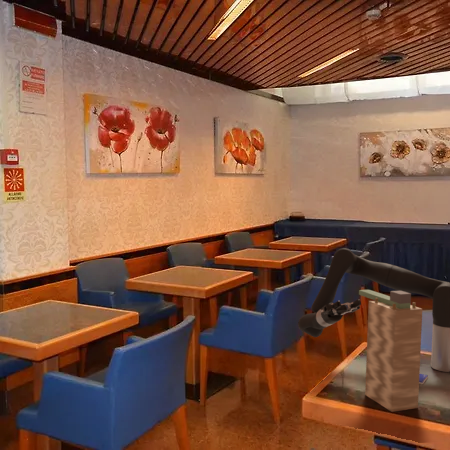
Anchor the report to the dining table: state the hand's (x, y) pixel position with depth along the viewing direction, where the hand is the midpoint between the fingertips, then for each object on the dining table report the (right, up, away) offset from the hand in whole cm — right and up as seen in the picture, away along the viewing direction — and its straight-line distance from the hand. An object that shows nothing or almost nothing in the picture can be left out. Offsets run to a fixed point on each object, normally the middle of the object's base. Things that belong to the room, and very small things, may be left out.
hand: (349, 302), depth 191 cm
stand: (+8, -29, -22) cm, 37 cm away
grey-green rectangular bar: (+7, +3, -18) cm, 20 cm away
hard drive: (+22, -28, 0) cm, 36 cm away
